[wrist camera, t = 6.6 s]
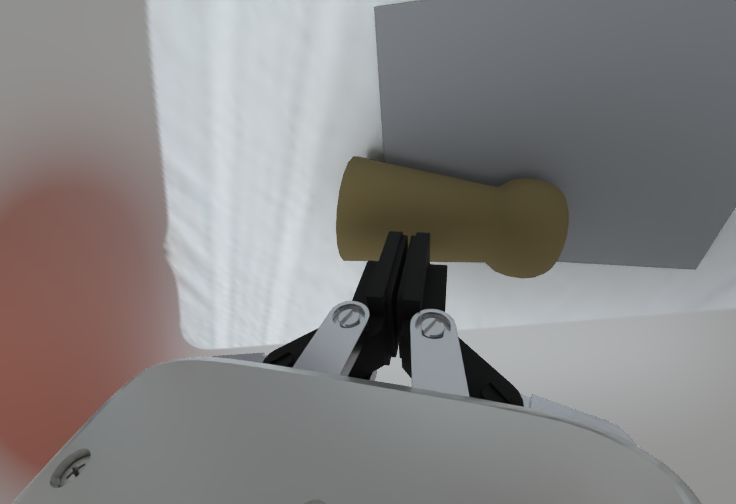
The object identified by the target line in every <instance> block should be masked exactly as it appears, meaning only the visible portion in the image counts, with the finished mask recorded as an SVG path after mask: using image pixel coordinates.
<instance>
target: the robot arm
mask: <svg viewBox="0 0 736 504" xmlns="http://www.w3.org/2000/svg"><path fill="white" fill-rule="evenodd" d="M446 283H447V265H433V264H430V233H425V232H417V233H416V236H413V235H411V239H410V243H409V247H408V236H407V235H403V232H400V231H389V233H388V236H387V238H386V241H385V244H384V247H383V250H382V253H381V256H380V258H379V261H371V260H369V261H368V262H367V264H366V267H365V269H364V272H363V274H362V277H361V280H360V282H359V285H358V287H357V290H356V292H355V295H354V297H353V300H352V301H346V302H343V303H340V304H338V305H336V306H335V307H334V308H333V309H332V310H331V311H330V312H329V314H328V315H327V317H326V318H325V320H324V321H323V323H322V324H321V326H320V327H319V328H318V329H316V330H314V331H312V332H310V333H308V334H306V335H304V336H302V337H300V338H298V339H296V340H294V341H292V342H290V343H288V344H286V345H284V346H282V347H280V348H278V349H276V350H274V351H273V352H271V353H270V354H269V355H268V356H265V354H264V353H253V354H238V355H223V356H213V357H191V358H181V359H177V360H171V361H166V362H163V363H160V364H157V365H154V366H151V367H149V368H147V369H146V370H143V371H142V372H140V373H139V374H137V375H136V376H135V377H133V378H132V379H131V380H129V381H128V382H127V383H126V384H125V385H124V386H123V387H121V388H120V389H119V390H118V391H117V392H116V393H115V394H114V395H113V396H112V397H111V398H110V399H109V400H108V401H107V402H106V403H105V404H104V405H103V406H102V407H101V408H100V409H99V410H98V411H97V412H96V413H95V414H94V415H93V416H92V417H91V418H90V419H89V420H88V421H87V422H86V423H85V424H84V425H83V427H81V428H80V429H79V430H78V432H77V433H76V434H75V435H74V436H73V437H72V438H71V439H70V440H69V441H68V442H67V443H66V444H65V445H64V446H63V447H62V448H61V450H60V451H59V452H58V453H57V454H56V455H55V456H54V457H53V458H52V459H51V461H50V462H49V463H48V464H47V465H46V466H45V467H44V468H43V469H42V470H41V472H39V474H38V475H37V476H36V477H35V478H34V479H33V480H32V481H31V483H29V485H28V486H27V487H26V488H25V489H24V490H23V491H22V492H21V493H20V494H19V496H18V497H17V498H16V499H15V500H14V501H13V502H12V503H11V504H702V503H701V502H700V500H699V499H698V498H697V497H696V495H695V494H694V492H693V491H692V490H691V489H690V488H689V486H687V484H686V483H685V482H684V481H683V480H682V479H681V478H680V477H679V476H678V475H677V474H676V473H675V472H674V471H673V470H671V469H670V468H669V467H668V466H666V465H665V464H664V463H663V462H661V461H660V460H658V459H657V458H655V457H654V456H652V455H651V454H649V453H648V452H646V451H644V450H643V449H641V448H639V447H637V444H636V443H635V442H634V441H633V439H632V438H631V436H630V435H629V434H627V433H626V432H625V431H624V430H623V429H621V428H620V427H619V426H617V425H615V424H613V423H611V422H609V421H607V420H604V419H601V418H598V417H595V416H593V415H590V414H587V413H584V412H581V411H578V410H576V409H573V408H570V407H567V406H564V405H561V404H558V403H555V402H553V401H550V400H547V399H544V398H541V397H538V396H535V395H532V396H531V397H528V396H524V395H522V394H520V393H519V392H518V390H517V389H516V388H515V387H514V386H513V385H512V384H511V383H510V382H509V381H507V380H506V379H505V378H504V377H503V376H502V375H500V374H499V373H498V372H497V371H496V370H495V369H494V368H492V366H490V365H489V364H488V363H487V362H486V361H485V360H484V359H482V358H481V357H480V356H479V355H478V354H477V353H476V352H475V351H473V350H472V349H471V348H470V347H469V346H468V345H467V344H465V343H464V342H463V341H462V340H461V339H460V338H459V337H458V334H457V328H456V324H455V321H454V319H453V318H452V317H451V316H450V315H449V314H447V313H446V312H445V302H446ZM398 345H399V353H400V358H402V367H403V369H404V370H405V371H406V372H407V374H408V375H409V376H410V377H411V378H412V387H408V386H401V385H396V384H390V383H383V382H377V381H374V380H375V378H376V374H377V369H379V368H380V367H382V366H384V365H389V364H390V359H391V357H396V355H397V350H398Z"/></svg>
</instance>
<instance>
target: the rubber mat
mask: <svg viewBox="0 0 736 504" xmlns="http://www.w3.org/2000/svg"><path fill="white" fill-rule="evenodd" d="M374 12H375V27H376V42H377V57H378V72H379V88H380V103H381V118H382V133H383V148H384V162H385V163H390V164H394V165H399V166H403V167H408V168H413V169H417V170H422V171H426V172H431V173H435V174H440V175H445V176H449V177H454V178H458V179H463V180H467V181H472V182H476V183H481V184H486V185H490V186H495V187H498V186H500V185H502V184H504V183H506V182H508V181H510V180H515V179H522V178H529V179H538V180H542V181H545V182H548V183H551V184H553V185H554V186H556V187H557V188H558V189H560V190H561V191H562V193H563V194H564V196H565V198H566V201H567V205H568V210H569V226H568V233H567V238H566V241H565V245H564V248H563V250H562V252H561V255H560V257H559V258H558V260H557V261H556V262H573V263H591V264H609V265H626V266H644V267H661V268H679V269H696V268H697V267H698V265H699V263H700V262H701V260H702V259H703V257H704V255H705V254H706V252H707V251H708V249H709V248H710V246H711V244H712V243H713V241H714V240H715V238H716V237H717V235H718V233H719V232H720V230H721V229H722V227H723V226H724V224H725V222H726V221H727V219H728V218H729V216H730V215H731V213H732V211H733V210H734V208H735V207H736V0H420V1H413V2H406V3H399V4H392V5H385V6H378V7H374Z"/></svg>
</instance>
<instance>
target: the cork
mask: <svg viewBox="0 0 736 504" xmlns="http://www.w3.org/2000/svg"><path fill="white" fill-rule="evenodd" d="M568 226H569V210H568V205H567V201H566V198H565V196H564V194H563V193H562V191H561V190H560V189H558V188H557V187H556V186H554V185H553V184H551V183H548V182H545V181H542V180H538V179H529V178H522V179H515V180H510V181H508V182H506V183H504V184H502V185H500V186H498V187H495V186H490V185H486V184H481V183H476V182H472V181H467V180H463V179H458V178H454V177H449V176H445V175H440V174H435V173H431V172H426V171H422V170H417V169H413V168H408V167H403V166H399V165H394V164H390V163H385V162H381V161H376V160H371V159H367V158H362V157H353V158H352V159H351V160H350V161H349V162H348V165H347V167H346V170H345V172H344V175H343V179H342V183H341V187H340V191H339V198H338V206H337V221H336V234H337V245H338V249H339V254H340V256H341V258H342V259H343V260H344V261H369V260H371V261H379V258H380V256H381V253H382V250H383V247H384V244H385V241H386V238H387V236H388V233H389V231H400V232H403V235H407V236H408V247H409V243H410V239H411V235H413V236H416V233H417V232H425V233H430V262H485V263H486V264H487V265H488V266H490V267H491V268H492V269H493V270H494V271H496V272H499V273H501V274H504V275H506V276H511V277H517V278H532V277H536V276H539V275H541V274H544V273H545V272H547V271H549V270H550V269H551V268H552V266H553V265H554V264H555V263H556V261H557V260H558V258H559V257H560V255H561V252H562V250H563V248H564V245H565V241H566V238H567V233H568Z"/></svg>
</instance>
